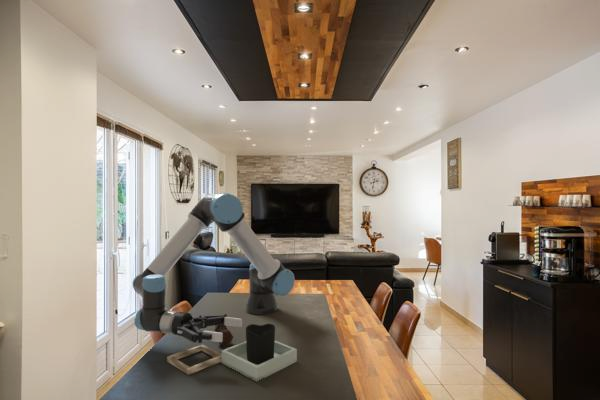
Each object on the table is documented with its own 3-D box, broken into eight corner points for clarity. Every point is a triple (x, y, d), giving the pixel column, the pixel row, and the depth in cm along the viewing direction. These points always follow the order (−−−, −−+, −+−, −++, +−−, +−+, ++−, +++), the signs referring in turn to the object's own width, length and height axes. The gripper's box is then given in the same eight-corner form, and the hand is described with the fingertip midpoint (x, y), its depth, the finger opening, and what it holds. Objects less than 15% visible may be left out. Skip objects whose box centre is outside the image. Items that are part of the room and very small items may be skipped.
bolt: (221, 335, 136) (227, 348, 122) (209, 330, 135) (215, 343, 121) (228, 321, 137) (235, 333, 124) (217, 316, 136) (223, 328, 122)
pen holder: (259, 350, 116) (259, 320, 116) (280, 357, 111) (280, 326, 111) (239, 360, 108) (239, 329, 109) (261, 368, 103) (261, 335, 103)
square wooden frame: (202, 348, 119) (202, 344, 119) (224, 360, 110) (224, 355, 110) (166, 361, 109) (166, 356, 109) (188, 374, 101) (188, 369, 101)
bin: (261, 346, 121) (261, 335, 121) (296, 361, 110) (296, 349, 110) (221, 363, 108) (221, 350, 108) (256, 381, 97) (256, 367, 97)
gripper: (197, 322, 130) (248, 328, 124) (151, 348, 106) (212, 357, 100) (197, 302, 130) (248, 307, 124) (152, 324, 106) (212, 331, 100)
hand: (232, 329), depth 112 cm, fingers open, 13 cm apart
